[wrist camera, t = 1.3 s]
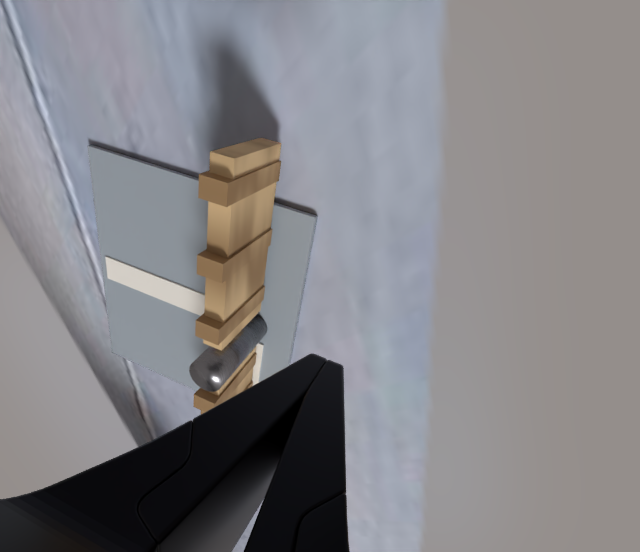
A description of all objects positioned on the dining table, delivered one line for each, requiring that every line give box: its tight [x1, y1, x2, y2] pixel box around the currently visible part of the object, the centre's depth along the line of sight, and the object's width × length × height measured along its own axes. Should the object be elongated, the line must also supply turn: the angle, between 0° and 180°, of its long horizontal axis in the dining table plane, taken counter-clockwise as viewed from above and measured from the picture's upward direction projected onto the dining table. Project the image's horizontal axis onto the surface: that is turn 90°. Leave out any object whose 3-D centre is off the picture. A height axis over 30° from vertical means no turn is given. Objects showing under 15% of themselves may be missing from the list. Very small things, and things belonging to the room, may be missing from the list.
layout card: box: [88, 145, 317, 391], centre depth 24 cm, size 15×14×1 cm
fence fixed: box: [194, 347, 257, 414], centre depth 23 cm, size 6×1×4 cm, turn 170°
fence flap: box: [195, 138, 281, 351], centre depth 18 cm, size 9×1×4 cm, turn 170°
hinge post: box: [189, 314, 267, 392], centre depth 21 cm, size 2×2×5 cm
